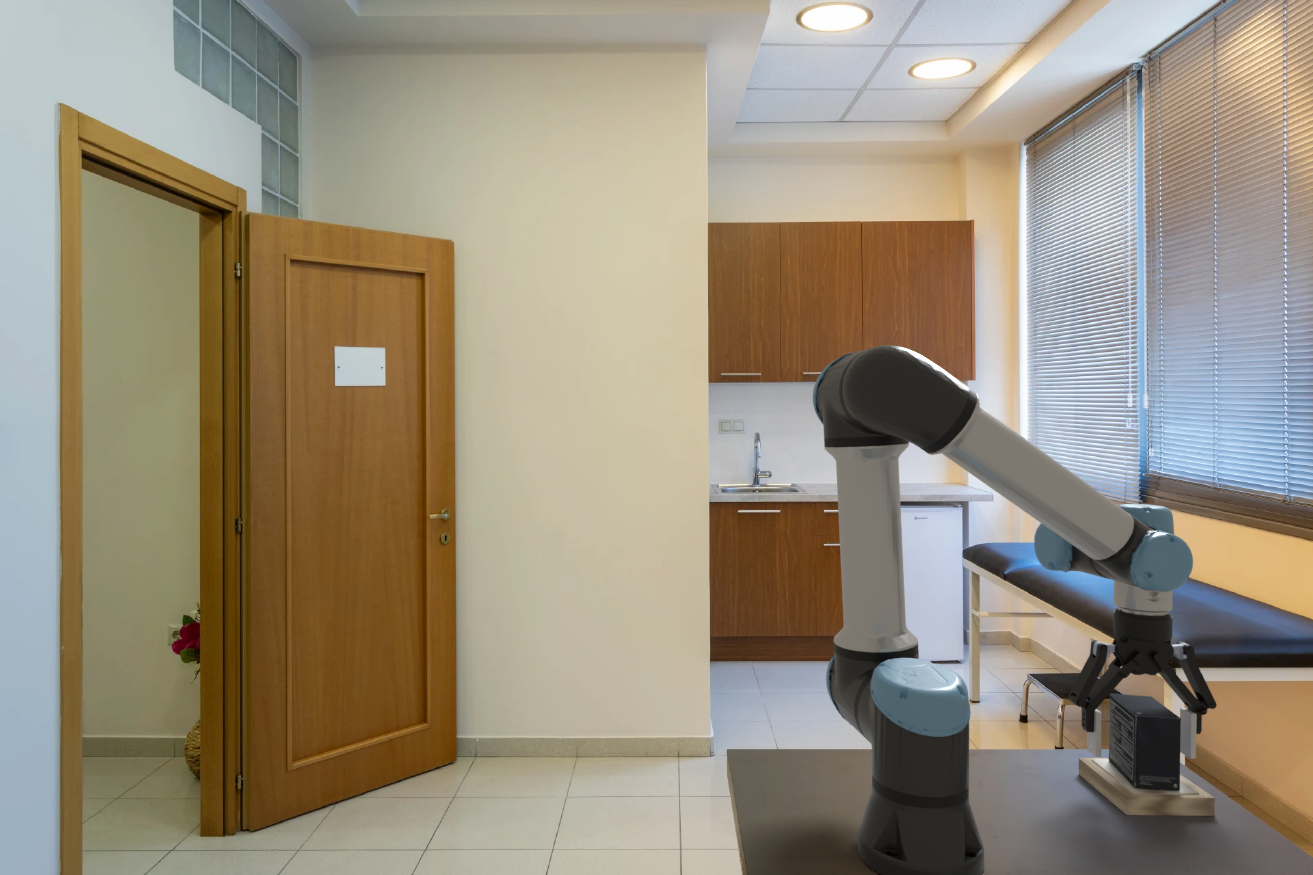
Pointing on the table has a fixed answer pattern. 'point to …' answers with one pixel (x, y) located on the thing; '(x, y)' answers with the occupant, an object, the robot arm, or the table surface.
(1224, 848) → the table surface
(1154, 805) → the beech picture frame
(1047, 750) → the table surface
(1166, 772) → the small box
